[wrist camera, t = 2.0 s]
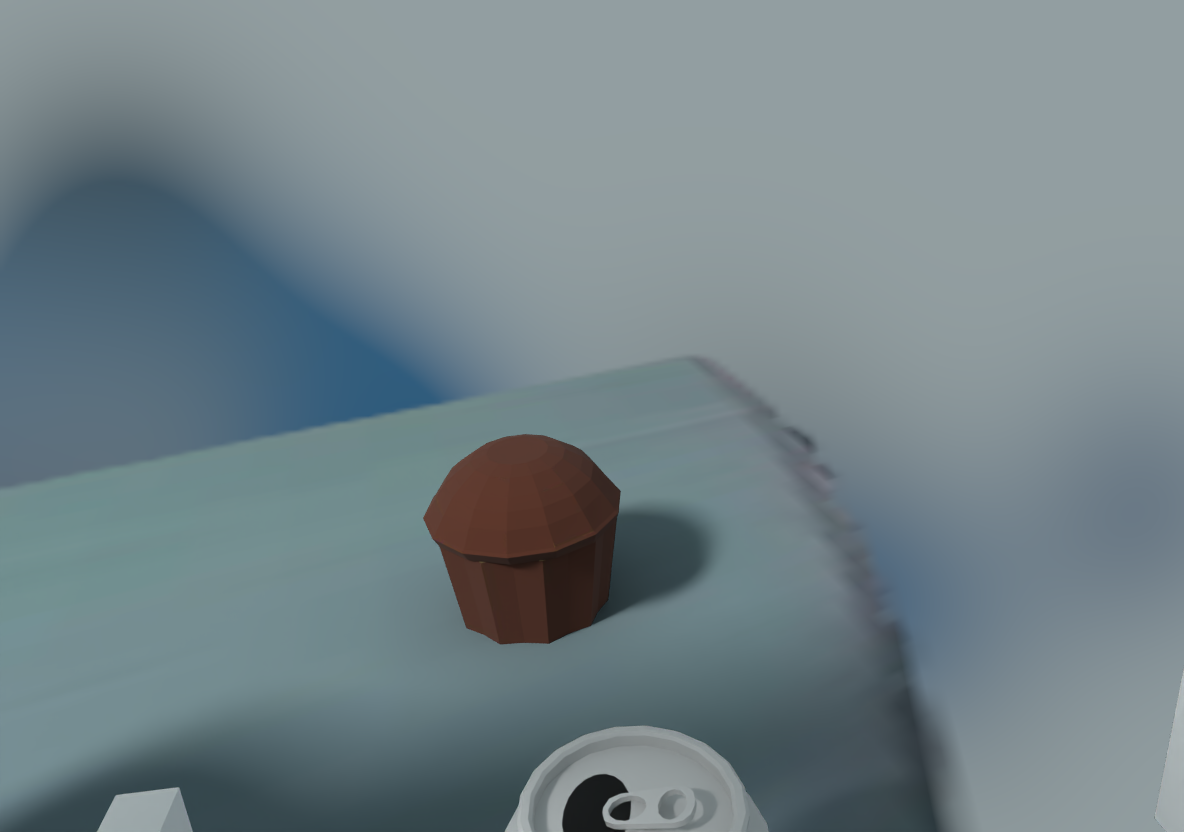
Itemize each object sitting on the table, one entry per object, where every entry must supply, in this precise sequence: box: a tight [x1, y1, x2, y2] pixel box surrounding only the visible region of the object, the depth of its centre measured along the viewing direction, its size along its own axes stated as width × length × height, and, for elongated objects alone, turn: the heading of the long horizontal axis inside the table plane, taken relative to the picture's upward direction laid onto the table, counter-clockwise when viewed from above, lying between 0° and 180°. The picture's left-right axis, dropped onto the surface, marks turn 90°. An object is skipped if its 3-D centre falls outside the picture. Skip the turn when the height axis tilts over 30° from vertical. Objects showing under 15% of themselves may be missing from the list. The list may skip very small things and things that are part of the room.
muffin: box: [423, 434, 621, 644], centre depth 54 cm, size 12×11×10 cm
